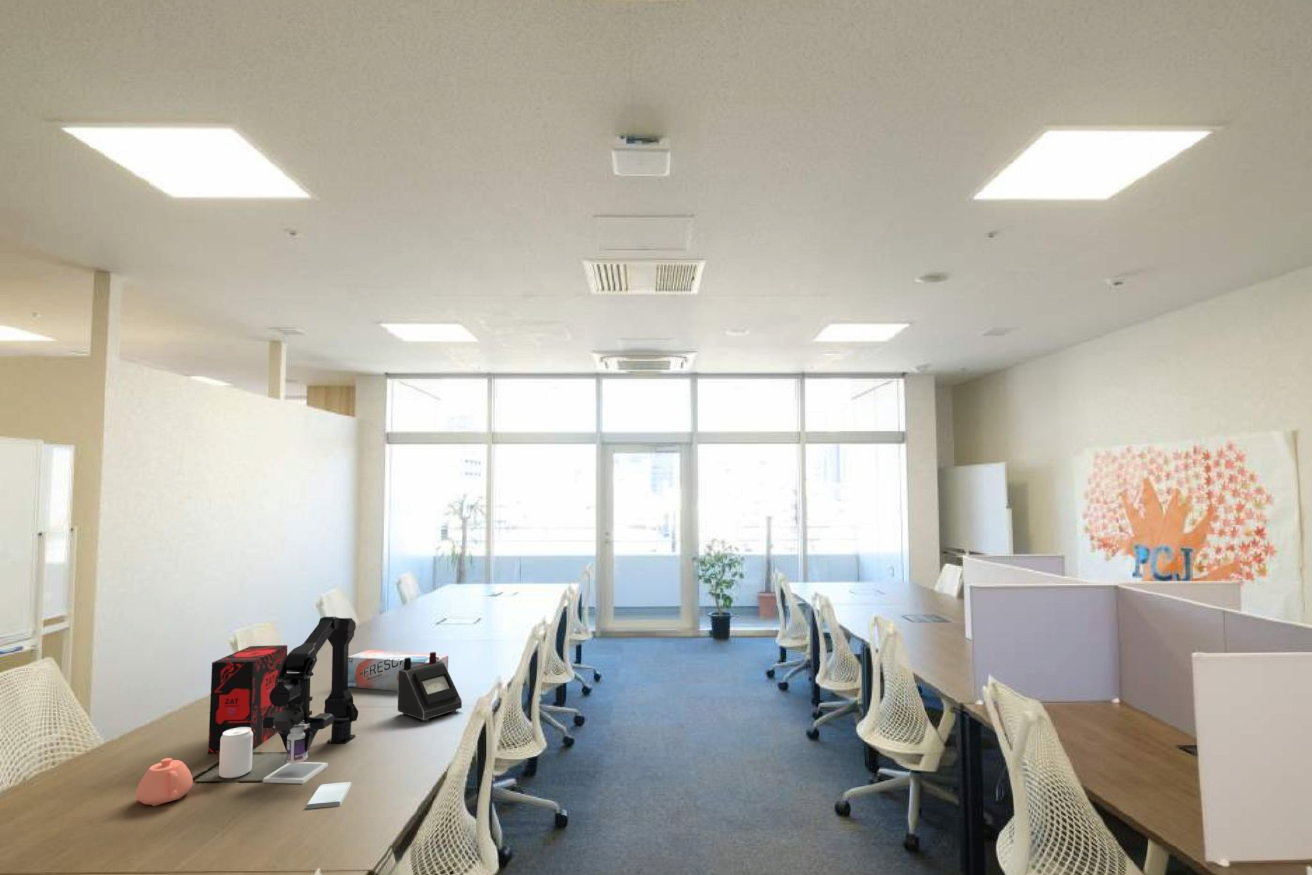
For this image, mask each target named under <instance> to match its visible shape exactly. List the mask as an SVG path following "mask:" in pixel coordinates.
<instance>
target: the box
mask: <svg viewBox="0 0 1312 875" xmlns="http://www.w3.org/2000/svg"><path fill="white" fill-rule="evenodd" d="M287 655H288V645H287V644H283V645H279V644H277V645H275V644H274V645H250V646H247V647H246V648H243V649H240V650H238V651H236V652H233V653H231V654H229V655H226V656H225V657H222V658H220V659H218V660H217V659H216V660H215V661H212V662H211V676H210V678H211V680H210V703H209V722H208V723H209V726H208V727H209V728H208V748H207V749H208V752H207V754H208V755H220V739H221V737H222V735H223V732H225V731H227V730H230V729H233V728H239V727H249V728H251V731H252V732H253V749H252V752H253V751H254V750H256V749H257V748H258V747H260V746H261V745H262V744H264V743H265V742H267V740H270V739H271V738H272V737H273V736H275V735H276V734H278V733H277V732H276V731H273V730H272V729H273V728H274V726H273V727H272V728H262V721H263V719H264V718H265V717H266V716H268V715H270V714H272V713H274V712H281V711H283V709H284V706H282V707H277V706H274V705H273V704H272V703H271V702H270V698H269V695H270V693H271V691H272V689H273V688H274V687H276V686H277V682H278V681H280V680H283V679H278V676H279V673H280V671H281V668H282V665H283V663H284V660H285V658H286V657H287Z"/></svg>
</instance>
